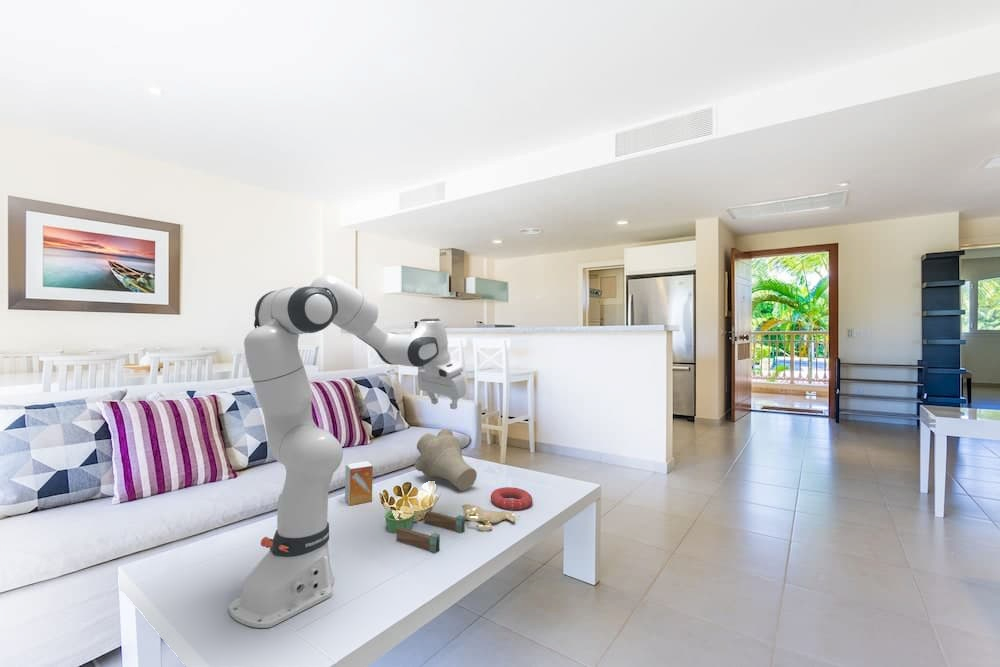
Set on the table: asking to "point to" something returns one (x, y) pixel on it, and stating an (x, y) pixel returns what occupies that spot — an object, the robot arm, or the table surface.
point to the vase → (444, 459)
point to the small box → (358, 483)
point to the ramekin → (397, 522)
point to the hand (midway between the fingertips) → (444, 406)
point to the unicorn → (485, 516)
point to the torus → (511, 504)
